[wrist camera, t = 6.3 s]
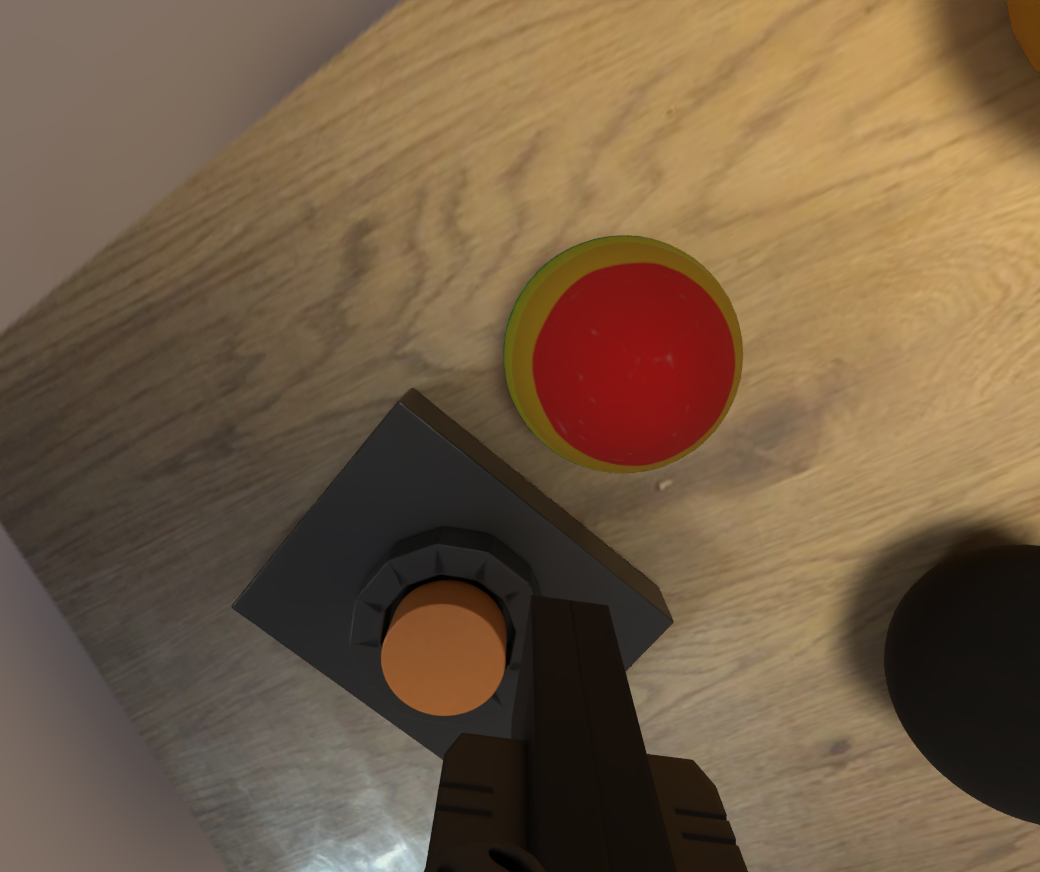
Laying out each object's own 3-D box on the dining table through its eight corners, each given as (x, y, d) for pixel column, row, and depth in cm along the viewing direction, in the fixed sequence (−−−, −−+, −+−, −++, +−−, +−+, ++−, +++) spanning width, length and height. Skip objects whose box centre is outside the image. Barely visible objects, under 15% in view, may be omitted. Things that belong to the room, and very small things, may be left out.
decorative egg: (744, 362, 29) (858, 406, 19) (585, 478, 30) (615, 576, 20) (628, 197, 27) (686, 154, 17) (465, 326, 28) (436, 353, 19)
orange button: (367, 638, 26) (355, 668, 24) (440, 556, 26) (432, 579, 24) (457, 704, 27) (452, 738, 25) (530, 626, 26) (531, 654, 24)
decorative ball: (852, 510, 30) (1010, 622, 20) (1084, 508, 30) (1354, 620, 20) (831, 715, 32) (965, 904, 23) (1047, 713, 32) (1274, 902, 22)
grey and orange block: (259, 574, 31) (210, 629, 26) (412, 386, 29) (389, 408, 24) (501, 751, 33) (498, 834, 28) (659, 587, 31) (684, 645, 26)
